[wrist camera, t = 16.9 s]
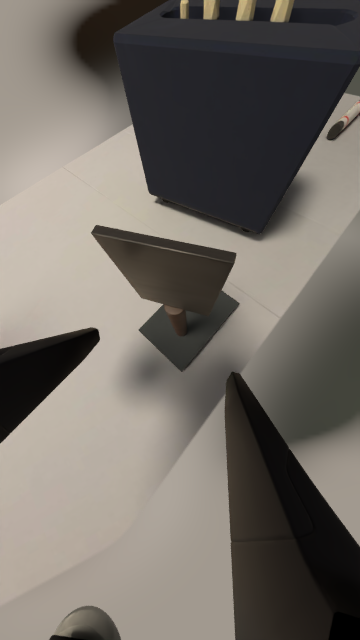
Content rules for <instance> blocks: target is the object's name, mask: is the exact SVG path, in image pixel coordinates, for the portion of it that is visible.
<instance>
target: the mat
mask: <svg viewBox="0 0 360 640" xmlns="http://www.w3.org/2000/svg"><path fill="white" fill-rule="evenodd" d="M238 305H239V303H238V302H237V301H236V300H234V299H233V298H231V297H230V296H229V295H227V294H226V293H224V292H223V291H221V292H220V294H219V296H218V298H217V300H216V302H215V304H214V306H213V309H212V311H211V313H210V315H209V316H205V315H201V314H198V313H194V312H190V311H187V310H186V320H187V333H186V335H185V336H182V337H181V336H178V335H177V334H176V332H175V330H174V328H173V326H172V324H171V321H170V319H169V317H168V315H167V313H166V311H165V309H164V304H163V305H162V306H161V307H160V308H159V310H158V311H157V312H156V313H155V314H154V315H153V316H152V317H151V318H150V319H149V320H148V321H147V322H146V323H145V324H144V325H143V326H142V327H141V328H140V329H139V331H140V332H141V333H142V334H143V335H144V336H145V337H146V338H147V339H148V340H149V341H150V342H151V343H152V344H153V345H154V346H155V347H156V348H157V349H159V350H160V351H161V352H162V353H163V354H164V355H165V356H166V357H167V358H168V359H169V360H170V361H171V362H172V363H173V364H174V365H175V366H176V367H177V368H178V369H179V370H180V371H181V372H183V370H184V369H185V368H186V367H187V366H188V364H189V363H190V362H191V361H192V360H193V358H194V357H195V356H196V355H197V354H198V352H199V351H200V350H201V349H202V348H203V347H204V345H205V344H206V343H207V342H208V341H209V339H210V338H211V337H212V336H213V335H214V333H215V332H216V331H217V330H218V329H219V327H220V326H221V325H222V324H223V323H224V321H225V320H226V319H227V318H228V317H229V316H230V314H231V313H232V312H233V311H234V310H235V308H236V307H237V306H238Z"/></svg>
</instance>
